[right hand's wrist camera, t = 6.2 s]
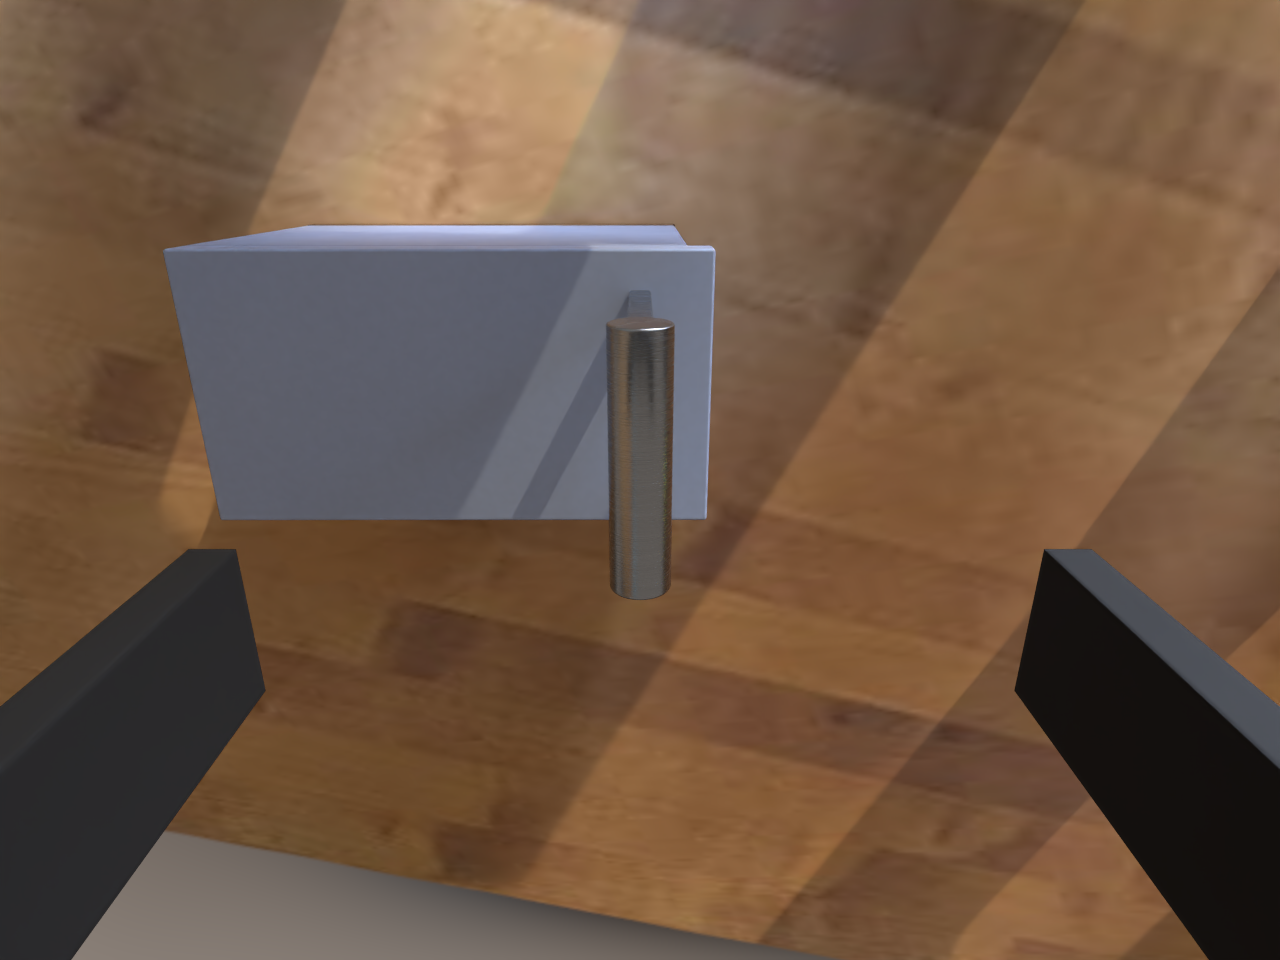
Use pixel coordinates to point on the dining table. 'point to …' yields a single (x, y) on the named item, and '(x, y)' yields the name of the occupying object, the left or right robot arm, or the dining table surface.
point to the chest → (463, 235)
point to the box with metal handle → (457, 385)
